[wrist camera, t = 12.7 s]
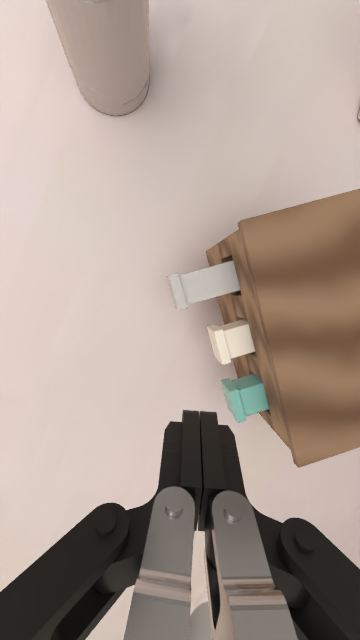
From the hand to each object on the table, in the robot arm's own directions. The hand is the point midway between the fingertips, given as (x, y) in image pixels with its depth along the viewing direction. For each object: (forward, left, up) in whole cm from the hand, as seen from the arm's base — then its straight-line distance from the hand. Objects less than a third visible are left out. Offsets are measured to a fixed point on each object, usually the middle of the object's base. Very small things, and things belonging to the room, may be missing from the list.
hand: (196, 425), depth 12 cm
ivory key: (+6, +8, -20) cm, 22 cm away
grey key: (-1, +8, -20) cm, 22 cm away
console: (+8, +11, -27) cm, 31 cm away
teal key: (+12, +4, -20) cm, 24 cm away
